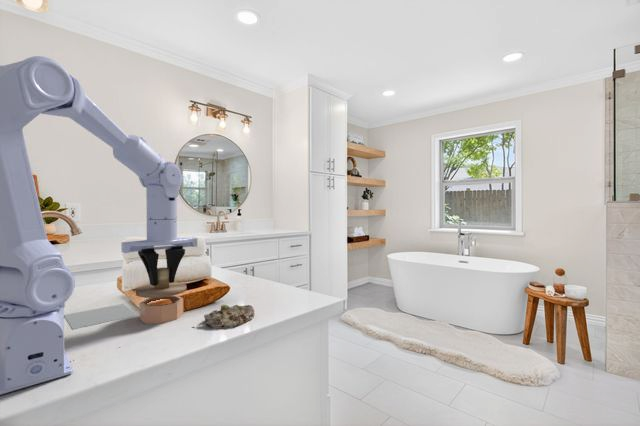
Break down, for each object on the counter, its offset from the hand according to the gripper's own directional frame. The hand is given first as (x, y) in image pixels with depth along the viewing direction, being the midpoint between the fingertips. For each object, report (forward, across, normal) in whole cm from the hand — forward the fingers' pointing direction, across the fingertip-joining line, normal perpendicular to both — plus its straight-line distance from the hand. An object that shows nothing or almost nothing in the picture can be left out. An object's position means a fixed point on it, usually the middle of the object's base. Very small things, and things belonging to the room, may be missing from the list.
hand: (162, 283), depth 67 cm
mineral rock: (+8, -10, +11) cm, 17 cm away
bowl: (+8, 0, 0) cm, 8 cm away
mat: (+8, +9, -10) cm, 15 cm away
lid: (+2, 0, 0) cm, 2 cm away
